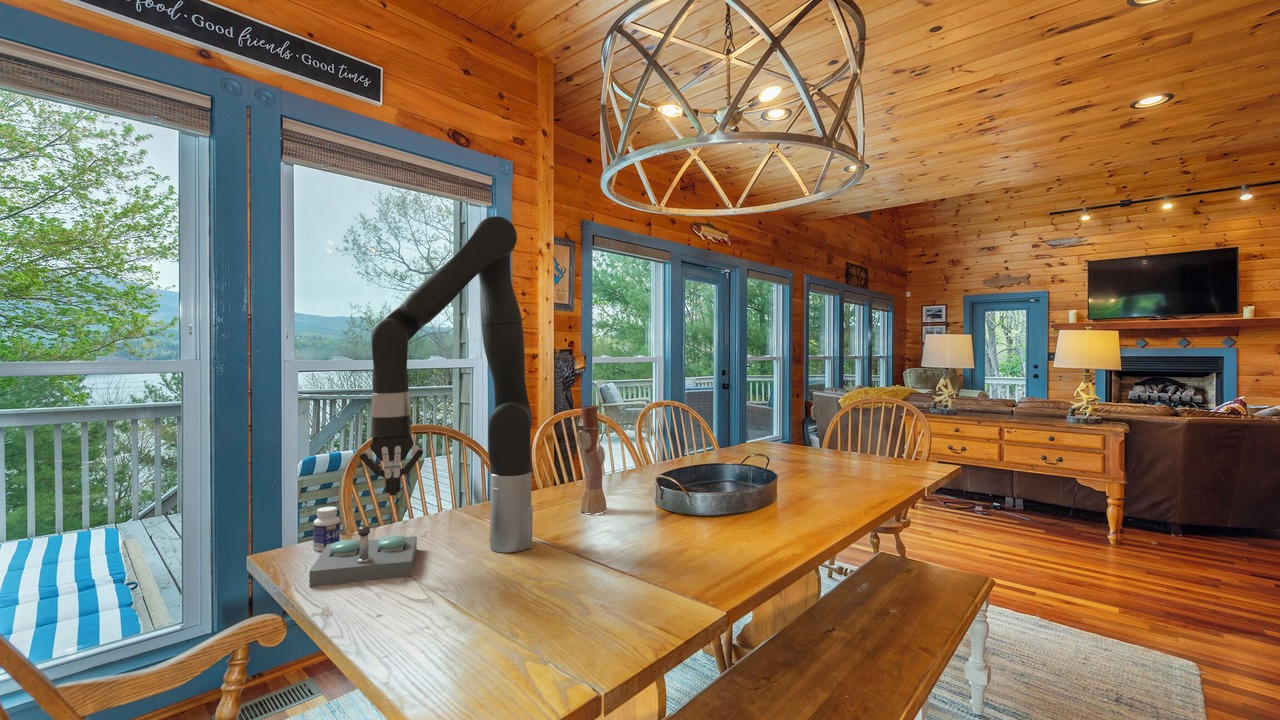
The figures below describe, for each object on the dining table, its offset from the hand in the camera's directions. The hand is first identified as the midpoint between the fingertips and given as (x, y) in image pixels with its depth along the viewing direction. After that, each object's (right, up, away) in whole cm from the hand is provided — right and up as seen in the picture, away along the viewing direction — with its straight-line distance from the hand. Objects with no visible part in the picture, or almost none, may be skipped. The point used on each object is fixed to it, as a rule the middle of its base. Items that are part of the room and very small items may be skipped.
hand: (393, 494), depth 121 cm
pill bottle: (-19, -14, +8) cm, 25 cm away
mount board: (-4, -14, -3) cm, 15 cm away
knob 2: (0, -14, 0) cm, 14 cm away
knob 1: (-9, -14, -2) cm, 17 cm away
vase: (+39, -14, +38) cm, 56 cm away
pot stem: (-3, -11, -8) cm, 14 cm away
